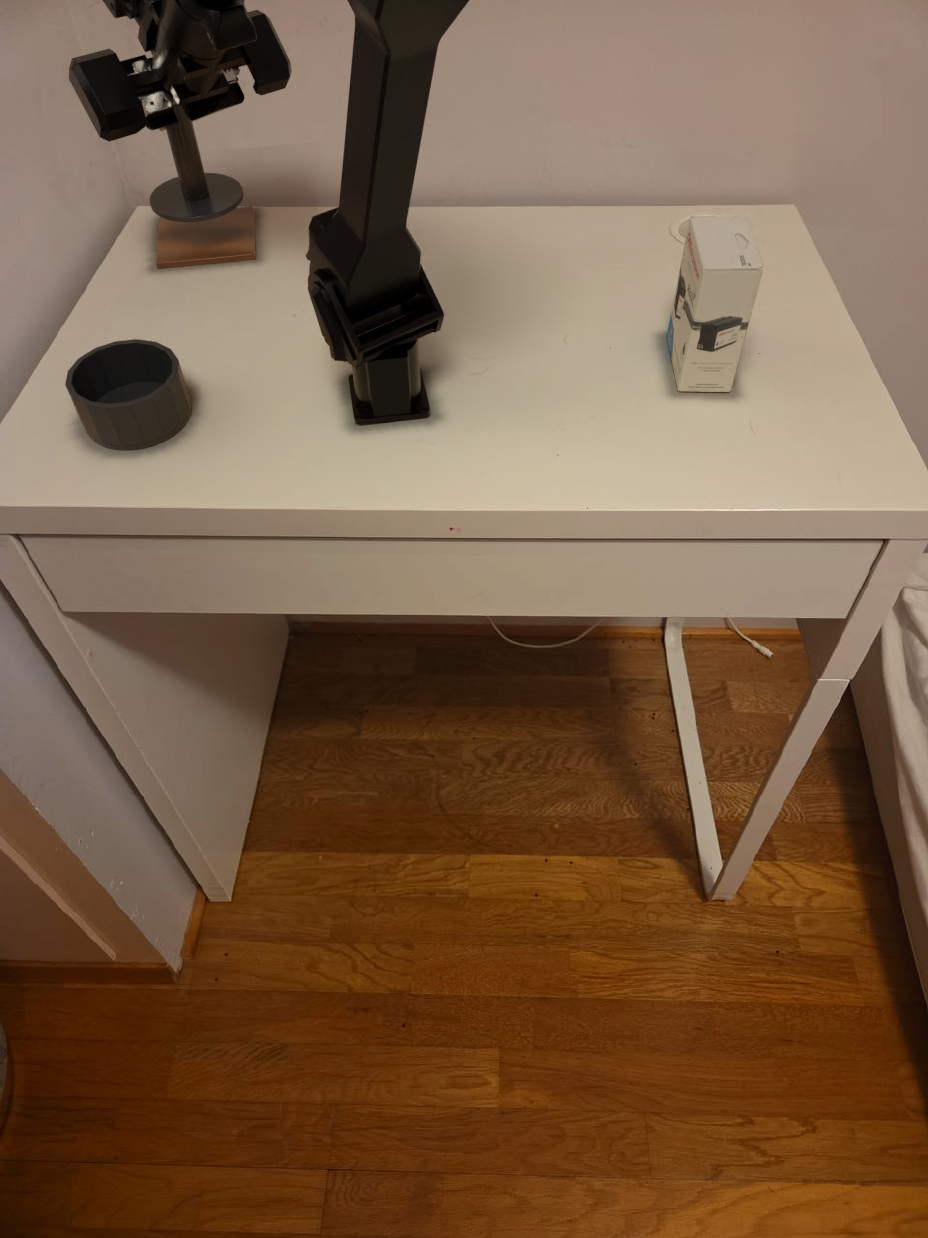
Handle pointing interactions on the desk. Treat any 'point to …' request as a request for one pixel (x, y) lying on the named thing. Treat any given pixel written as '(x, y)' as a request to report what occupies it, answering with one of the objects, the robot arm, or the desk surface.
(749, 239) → the ink box
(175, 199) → the lid
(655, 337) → the desk surface
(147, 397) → the bowl
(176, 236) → the plate
